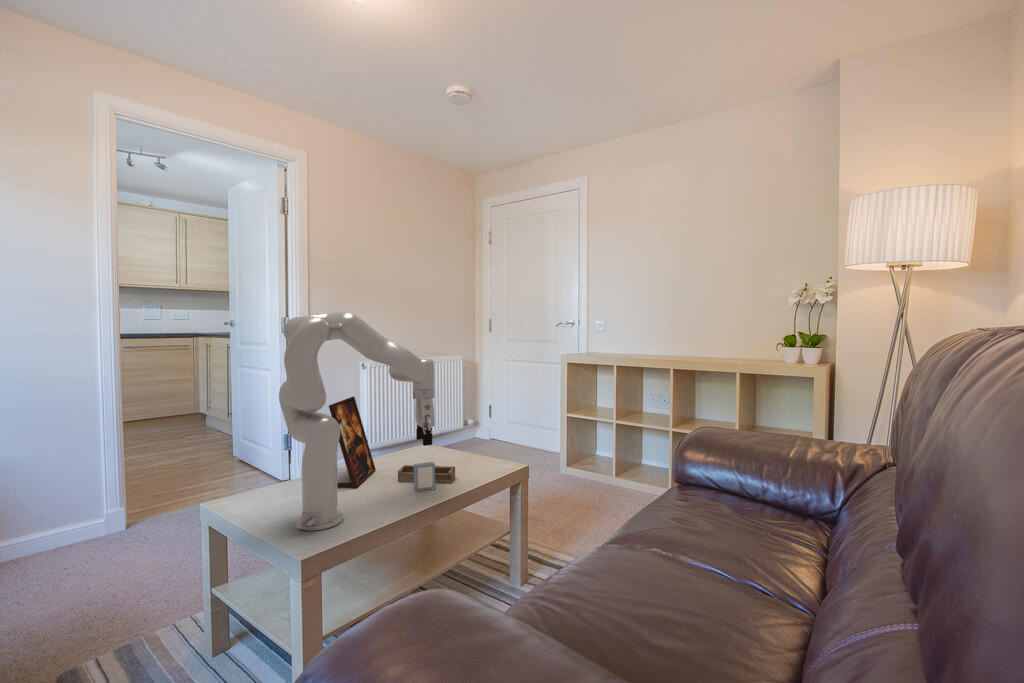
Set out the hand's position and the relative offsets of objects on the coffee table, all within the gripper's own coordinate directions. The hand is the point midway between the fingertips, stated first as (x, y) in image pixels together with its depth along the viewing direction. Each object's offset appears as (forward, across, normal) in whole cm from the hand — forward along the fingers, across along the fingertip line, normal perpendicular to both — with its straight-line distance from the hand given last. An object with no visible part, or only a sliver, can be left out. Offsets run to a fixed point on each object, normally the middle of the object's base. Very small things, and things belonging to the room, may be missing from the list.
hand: (424, 442), depth 163 cm
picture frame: (+17, +22, +22) cm, 35 cm away
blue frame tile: (+17, 0, 0) cm, 17 cm away
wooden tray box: (+17, +10, -3) cm, 19 cm away
